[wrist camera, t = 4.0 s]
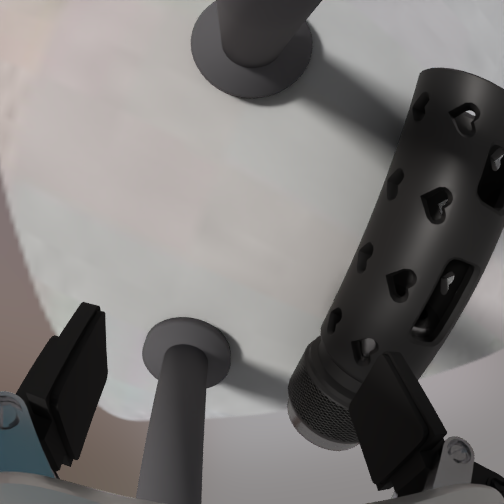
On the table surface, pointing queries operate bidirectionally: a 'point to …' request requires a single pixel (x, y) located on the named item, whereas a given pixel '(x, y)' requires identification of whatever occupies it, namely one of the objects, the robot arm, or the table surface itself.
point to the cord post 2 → (253, 44)
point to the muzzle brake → (411, 252)
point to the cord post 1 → (179, 407)
